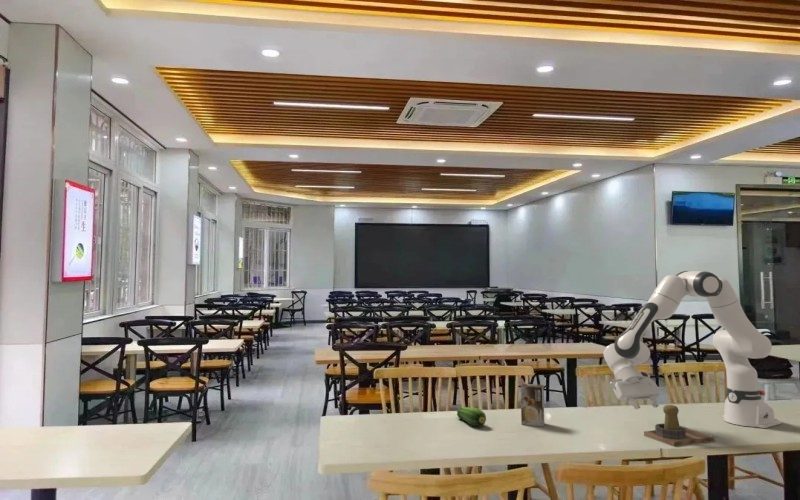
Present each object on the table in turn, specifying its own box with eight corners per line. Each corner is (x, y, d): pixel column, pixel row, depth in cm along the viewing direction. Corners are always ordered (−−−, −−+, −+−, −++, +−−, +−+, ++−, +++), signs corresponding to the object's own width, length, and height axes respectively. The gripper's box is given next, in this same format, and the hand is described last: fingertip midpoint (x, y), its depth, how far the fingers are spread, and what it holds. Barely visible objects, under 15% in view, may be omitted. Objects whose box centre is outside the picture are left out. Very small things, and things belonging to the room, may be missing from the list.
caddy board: (683, 430, 210) (682, 419, 210) (714, 440, 197) (713, 428, 197) (644, 435, 203) (643, 423, 204) (673, 446, 190) (673, 433, 190)
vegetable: (477, 408, 212) (455, 398, 231) (470, 424, 210) (449, 413, 229) (491, 415, 214) (469, 404, 233) (484, 431, 212) (462, 419, 231)
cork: (684, 437, 195) (681, 407, 196) (666, 436, 196) (664, 407, 197) (678, 432, 201) (676, 403, 202) (661, 432, 202) (659, 403, 203)
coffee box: (545, 423, 220) (544, 384, 221) (543, 427, 215) (542, 387, 215) (523, 420, 224) (522, 383, 225) (520, 424, 218) (520, 385, 219)
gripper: (612, 375, 214) (631, 405, 204) (651, 373, 221) (671, 401, 211) (605, 384, 218) (622, 414, 208) (643, 381, 225) (662, 410, 215)
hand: (647, 407), depth 210 cm, fingers open, 8 cm apart
